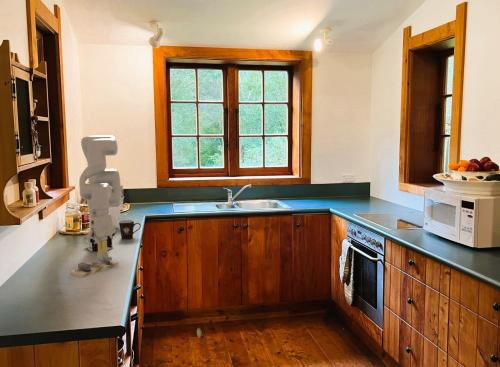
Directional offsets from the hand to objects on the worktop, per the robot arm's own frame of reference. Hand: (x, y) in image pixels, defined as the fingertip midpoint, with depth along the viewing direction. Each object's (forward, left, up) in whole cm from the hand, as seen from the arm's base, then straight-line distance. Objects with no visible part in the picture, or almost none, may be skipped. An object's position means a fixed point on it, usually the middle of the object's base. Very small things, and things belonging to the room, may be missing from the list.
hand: (102, 249), depth 211 cm
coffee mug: (-17, +51, -8) cm, 54 cm away
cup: (-42, +74, -8) cm, 86 cm away
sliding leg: (+1, 0, -6) cm, 6 cm away
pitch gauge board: (0, -6, -8) cm, 10 cm away
